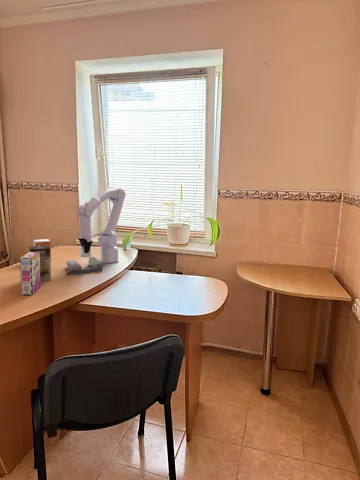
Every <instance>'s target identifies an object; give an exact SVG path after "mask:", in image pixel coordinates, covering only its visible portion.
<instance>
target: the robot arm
mask: <svg viewBox="0 0 360 480" xmlns="http://www.w3.org/2000/svg"><path fill="white" fill-rule="evenodd" d="M125 198H126V192H125V188H122V187H114V186H108V187H107V188H106V189H105V190H104V192H102V193H101V194H100V195H98V197H91V198H90V200H89V201H87V202H85V203H84V204H80V205H79V206H78V207H77V210H76V213H77V215H78V219H79V235H77V238H78V241H79V245H83V246H84V252H85V253H89V251H90V247H91V248H92V244H93V240H92V223H91V222H92V219H91V216H93V214H94V212H95V211H96V210H97V209H98V208H100V207H101V205H102V203H104V202H105V201H107V200H108V199H109V201H110V202H111V203H112V207H111V211H110V214H109V218H108V221H107V224H106V227H105V229H104V230H103V231H101V233H100V235H99V237H98V238H97V243H98V244H99V246H100V249H101V250H100V255H101V256H100V259H98V260H99V261H100V262H101V263H102V265H103V264H112V263H119V249H118V247H117V244H118V243H117V242H118V239H117V238H118V235H117V233H116V228H117V226H118V222H119V221H120V219H119V218H120V215H121V213H122V209H123V206H124V202H125Z"/></svg>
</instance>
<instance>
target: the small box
mask: <svg viewBox="0 0 360 480" xmlns="http://www.w3.org/2000/svg"><path fill="white" fill-rule="evenodd" d="M32 244H33V246H32V247H34V246H49V247H50V262H51V263H52V253H51V252H52V249H51V248H52V246H51V240H50V239H49V238H44V239H33V240H32Z"/></svg>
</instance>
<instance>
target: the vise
mask: <svg viewBox="0 0 360 480" xmlns="http://www.w3.org/2000/svg"><path fill="white" fill-rule="evenodd" d="M99 260H100V259H97V257H95V256H91V257H88V265H89V267H88V268H87V267H86V268H82V270H75V271H74V270H69V269H68V270H66V275H67V276H73V275H74V276H75V275H83V274H90V273H99V272H103V263H102V262H100V261H99Z"/></svg>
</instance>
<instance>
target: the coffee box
mask: <svg viewBox="0 0 360 480" xmlns="http://www.w3.org/2000/svg"><path fill="white" fill-rule="evenodd" d="M29 252H40V279H41V282H47V281H52V267H51V264H52V261H51V262H50V247H49V246H34V247H33V246H29V247H28V253H29Z"/></svg>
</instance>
